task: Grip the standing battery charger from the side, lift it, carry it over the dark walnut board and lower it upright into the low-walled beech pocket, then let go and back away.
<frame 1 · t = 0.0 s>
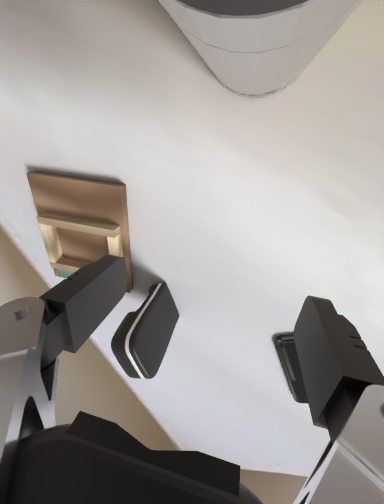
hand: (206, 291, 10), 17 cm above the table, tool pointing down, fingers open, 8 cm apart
battery charger: (163, 298, 35), on the table
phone: (310, 365, 35), on the table
board: (88, 234, 32), on the table
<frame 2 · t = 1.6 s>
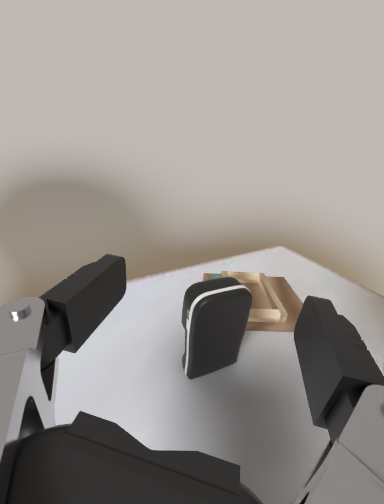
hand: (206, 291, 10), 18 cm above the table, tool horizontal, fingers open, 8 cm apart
battery charger: (206, 360, 28), on the table
board: (252, 301, 39), on the table
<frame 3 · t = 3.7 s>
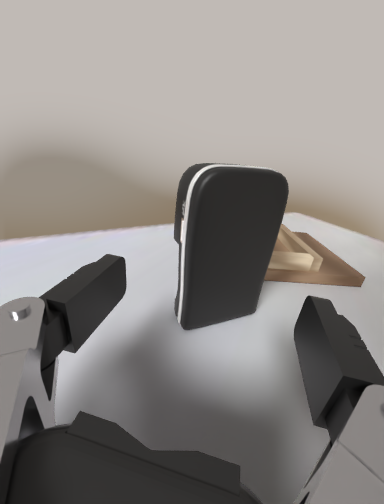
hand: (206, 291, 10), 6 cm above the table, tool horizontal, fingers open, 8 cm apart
battery charger: (210, 310, 19), on the table
board: (269, 254, 30), on the table
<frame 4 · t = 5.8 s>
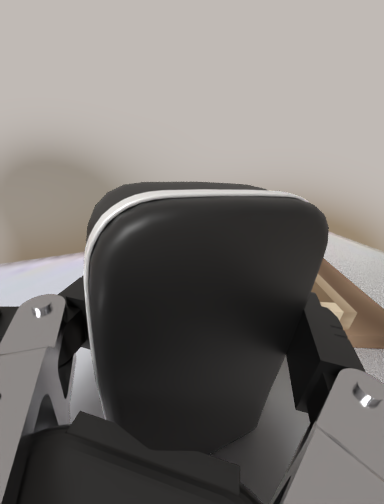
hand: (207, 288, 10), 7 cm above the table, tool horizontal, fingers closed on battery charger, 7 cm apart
battery charger: (181, 421, 11), on the table, touching gripper
board: (274, 291, 22), on the table
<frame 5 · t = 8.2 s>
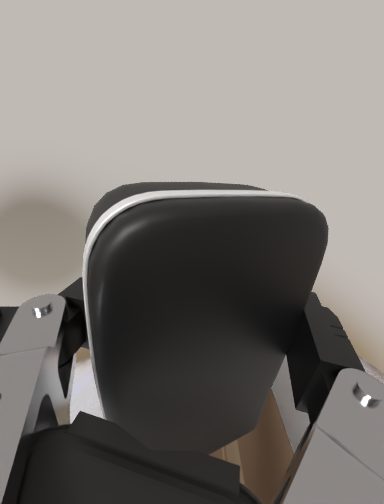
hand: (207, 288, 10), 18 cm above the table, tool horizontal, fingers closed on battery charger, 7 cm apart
battery charger: (181, 421, 11), point 11 cm above the table, touching gripper
board: (196, 476, 18), on the table
when the fingers open (9 cm above the table, at t = 10.7 s): battery charger stays where it is, resting on board.
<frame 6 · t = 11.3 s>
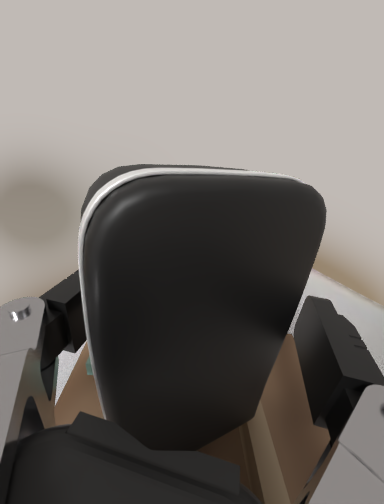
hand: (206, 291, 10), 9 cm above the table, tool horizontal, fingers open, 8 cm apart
battery charger: (179, 412, 11), point 3 cm above the table, touching board
board: (199, 429, 13), on the table
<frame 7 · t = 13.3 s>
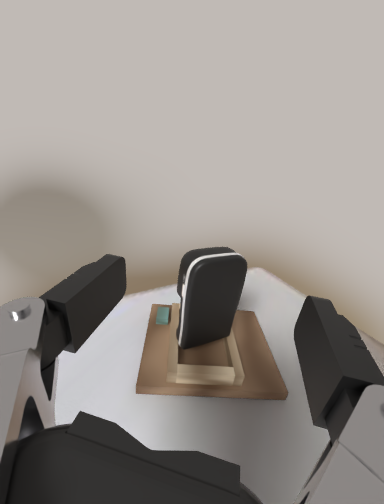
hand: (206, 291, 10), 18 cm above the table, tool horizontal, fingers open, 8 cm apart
battery charger: (199, 334, 28), point 3 cm above the table, touching board
board: (206, 347, 30), on the table
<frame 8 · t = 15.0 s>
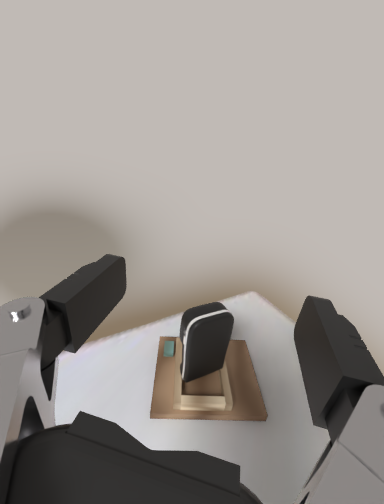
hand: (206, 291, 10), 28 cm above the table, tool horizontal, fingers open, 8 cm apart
battery charger: (199, 367, 35), point 3 cm above the table, touching board
board: (205, 375, 37), on the table
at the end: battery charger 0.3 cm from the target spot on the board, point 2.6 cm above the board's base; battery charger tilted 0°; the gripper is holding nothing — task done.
